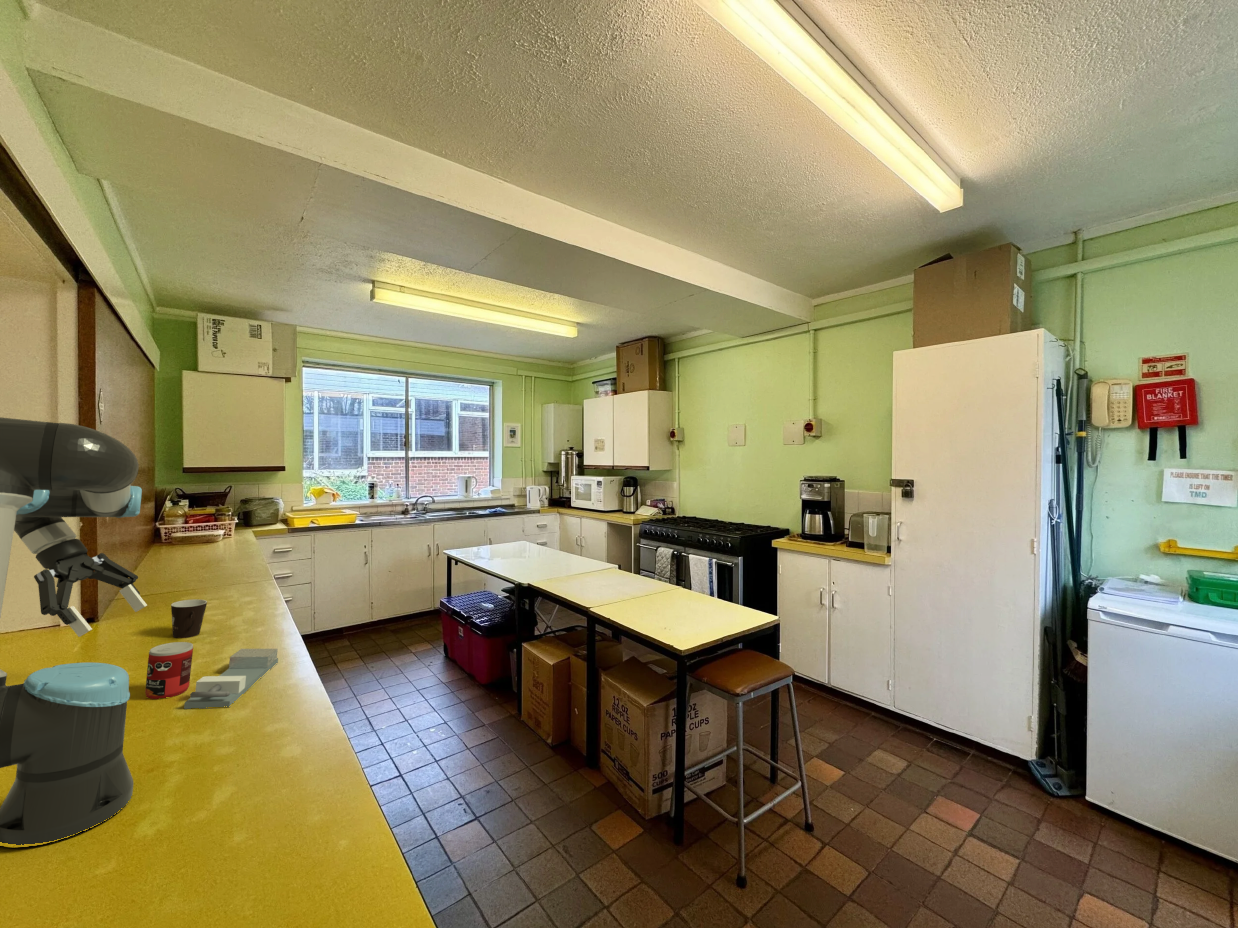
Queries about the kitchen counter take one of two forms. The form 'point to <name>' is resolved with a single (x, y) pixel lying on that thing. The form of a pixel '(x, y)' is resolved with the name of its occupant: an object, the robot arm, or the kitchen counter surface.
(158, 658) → the canned food
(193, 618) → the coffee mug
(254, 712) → the kitchen counter surface
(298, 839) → the kitchen counter surface
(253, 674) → the vise base
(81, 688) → the robot arm
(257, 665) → the block
